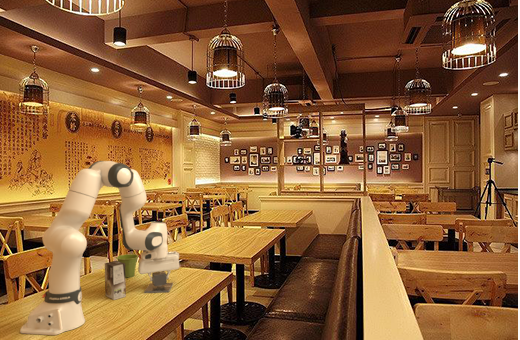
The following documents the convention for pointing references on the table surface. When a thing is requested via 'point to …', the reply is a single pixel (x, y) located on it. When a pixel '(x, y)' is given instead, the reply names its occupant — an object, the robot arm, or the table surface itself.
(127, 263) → the plant pot
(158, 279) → the grey drawer unit
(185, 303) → the table surface
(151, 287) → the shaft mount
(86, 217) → the robot arm
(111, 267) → the coffee box
